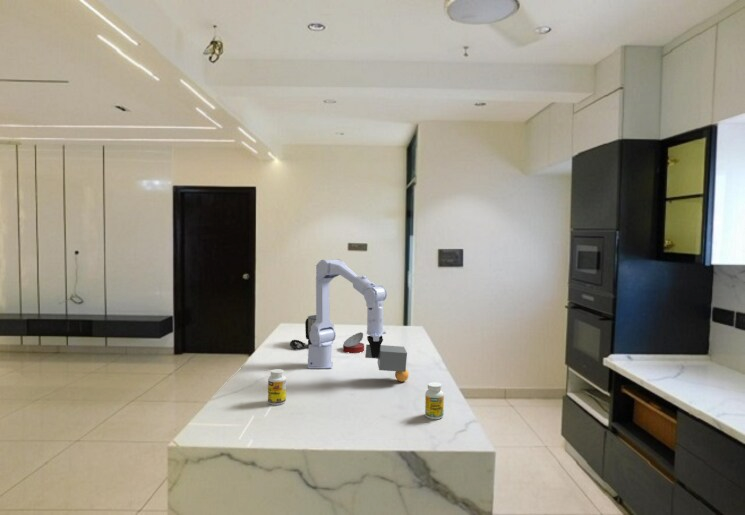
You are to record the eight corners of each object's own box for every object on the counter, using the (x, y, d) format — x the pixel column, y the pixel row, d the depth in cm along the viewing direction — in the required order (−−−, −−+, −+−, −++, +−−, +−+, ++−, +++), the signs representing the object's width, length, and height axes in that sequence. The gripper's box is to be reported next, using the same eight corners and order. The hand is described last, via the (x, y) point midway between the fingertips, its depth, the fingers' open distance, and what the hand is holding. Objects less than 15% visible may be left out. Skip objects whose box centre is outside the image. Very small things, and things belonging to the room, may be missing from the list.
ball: (412, 378, 161) (401, 386, 161) (410, 373, 166) (399, 381, 166) (404, 367, 161) (393, 375, 161) (402, 363, 166) (391, 371, 166)
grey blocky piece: (365, 369, 158) (366, 348, 157) (364, 361, 167) (365, 341, 167) (405, 371, 159) (407, 350, 158) (402, 364, 168) (404, 344, 168)
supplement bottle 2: (439, 412, 135) (440, 380, 135) (446, 419, 130) (446, 386, 129) (422, 413, 134) (423, 381, 133) (428, 420, 129) (429, 387, 128)
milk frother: (330, 346, 214) (331, 316, 214) (308, 353, 201) (308, 321, 201) (308, 342, 222) (308, 313, 222) (285, 349, 209) (286, 317, 209)
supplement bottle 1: (264, 404, 139) (264, 372, 139) (273, 398, 145) (273, 367, 144) (280, 406, 138) (280, 374, 137) (289, 400, 143) (289, 369, 143)
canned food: (361, 362, 204) (362, 346, 199) (340, 359, 206) (340, 342, 201) (366, 346, 214) (367, 330, 209) (346, 343, 215) (346, 327, 210)
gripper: (387, 323, 155) (387, 361, 156) (384, 316, 169) (384, 351, 170) (367, 323, 155) (367, 362, 155) (365, 316, 169) (365, 351, 170)
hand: (374, 356), depth 163 cm, fingers closed on grey blocky piece
